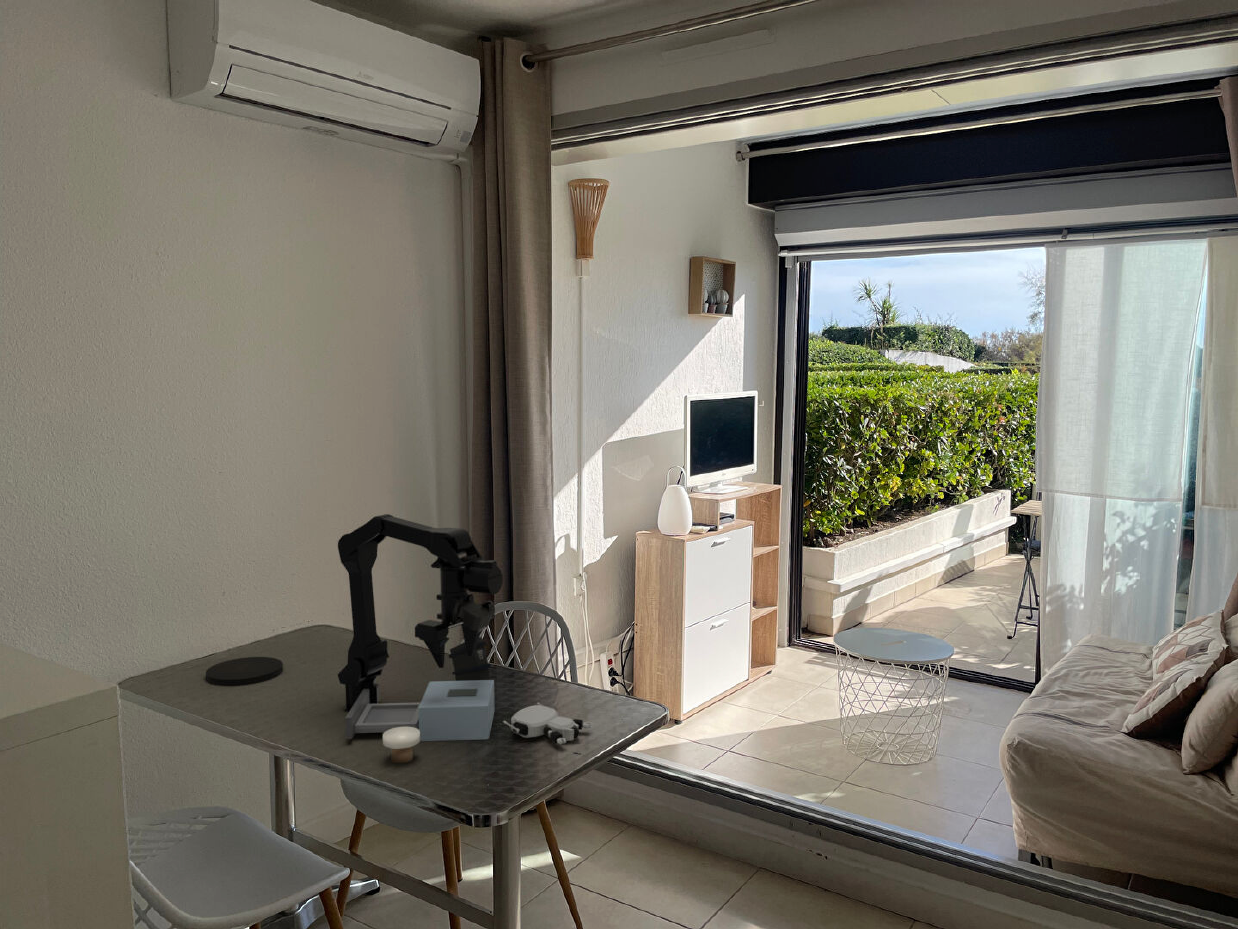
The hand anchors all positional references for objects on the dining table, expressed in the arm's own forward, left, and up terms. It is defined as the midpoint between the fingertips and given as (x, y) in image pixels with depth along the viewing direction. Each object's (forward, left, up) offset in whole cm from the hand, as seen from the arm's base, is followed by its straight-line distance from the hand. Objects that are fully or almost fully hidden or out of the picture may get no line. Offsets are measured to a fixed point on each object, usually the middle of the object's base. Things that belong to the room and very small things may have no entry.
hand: (456, 661), depth 196 cm
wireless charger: (-57, +37, -14) cm, 69 cm away
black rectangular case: (+1, +15, -14) cm, 20 cm away
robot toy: (+19, -8, -14) cm, 25 cm away
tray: (-14, -1, -12) cm, 19 cm away
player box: (0, -1, -14) cm, 14 cm away
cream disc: (-9, -18, -10) cm, 22 cm away
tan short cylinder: (-9, -18, -14) cm, 24 cm away
